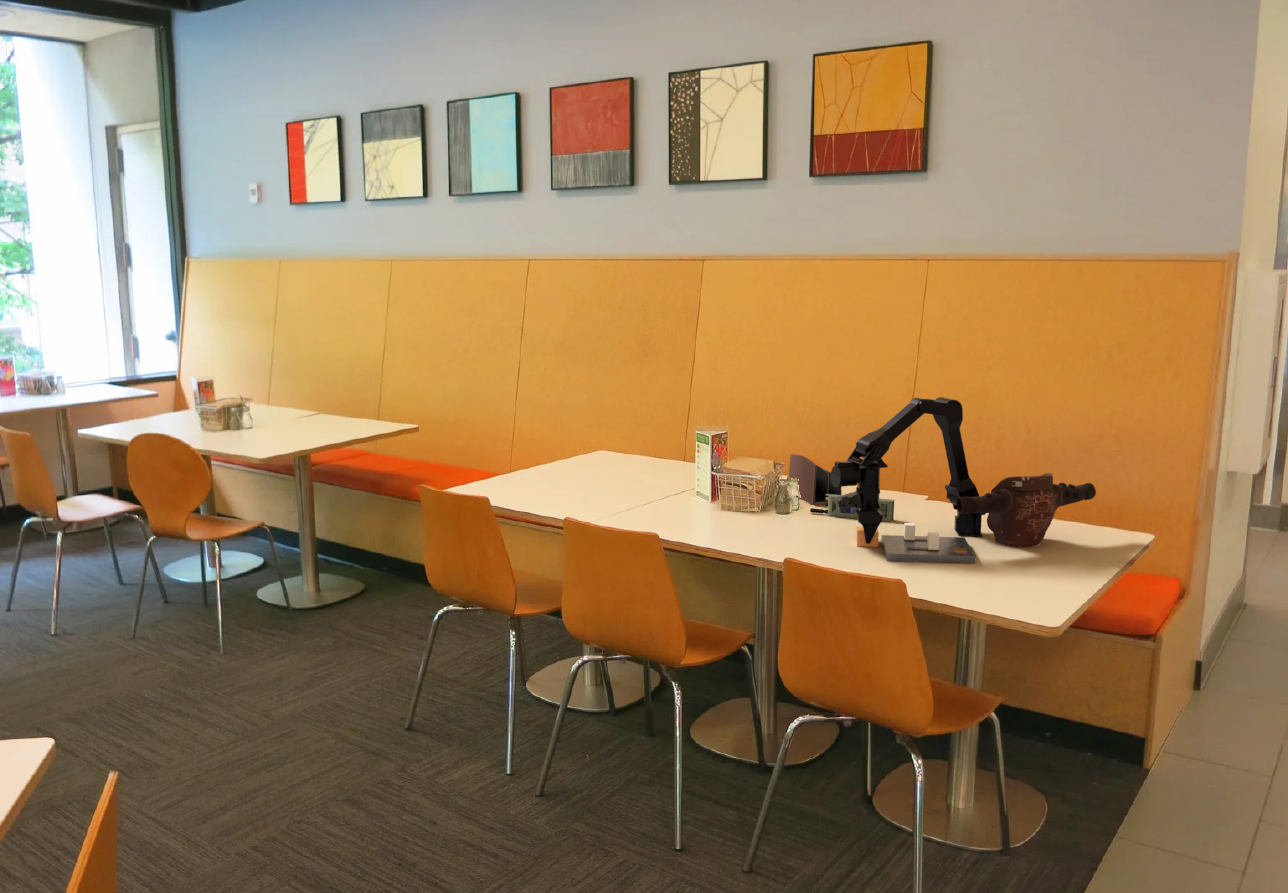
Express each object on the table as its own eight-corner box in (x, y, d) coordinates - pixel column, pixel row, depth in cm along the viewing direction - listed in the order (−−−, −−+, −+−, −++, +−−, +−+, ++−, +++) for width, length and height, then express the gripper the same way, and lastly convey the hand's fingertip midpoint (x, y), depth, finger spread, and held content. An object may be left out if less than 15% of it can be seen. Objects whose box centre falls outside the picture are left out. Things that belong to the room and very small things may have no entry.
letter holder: (813, 506, 330) (814, 462, 328) (787, 493, 349) (788, 451, 346) (842, 504, 333) (843, 460, 330) (815, 491, 352) (816, 449, 349)
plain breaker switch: (913, 537, 284) (914, 523, 283) (914, 540, 281) (915, 525, 281) (903, 537, 284) (904, 522, 283) (904, 539, 282) (905, 525, 281)
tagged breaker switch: (937, 547, 274) (938, 532, 274) (938, 550, 272) (939, 535, 271) (927, 546, 275) (927, 532, 274) (928, 549, 272) (928, 534, 271)
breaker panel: (964, 544, 285) (964, 536, 284) (975, 563, 267) (975, 555, 267) (881, 542, 288) (881, 534, 288) (886, 560, 270) (887, 552, 270)
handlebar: (1071, 530, 299) (1075, 461, 295) (1105, 541, 287) (1110, 469, 284) (940, 546, 283) (943, 474, 279) (970, 559, 271) (974, 483, 268)
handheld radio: (892, 523, 309) (808, 515, 319) (894, 521, 312) (811, 513, 322) (893, 500, 308) (809, 493, 318) (894, 498, 311) (812, 492, 321)
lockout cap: (876, 541, 289) (877, 527, 288) (878, 546, 283) (878, 532, 283) (855, 540, 290) (856, 526, 289) (857, 546, 284) (857, 531, 284)
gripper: (837, 476, 294) (835, 530, 297) (839, 491, 276) (838, 548, 278) (877, 477, 292) (876, 531, 295) (883, 492, 274) (881, 549, 277)
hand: (867, 540), depth 286 cm, fingers open, 7 cm apart
